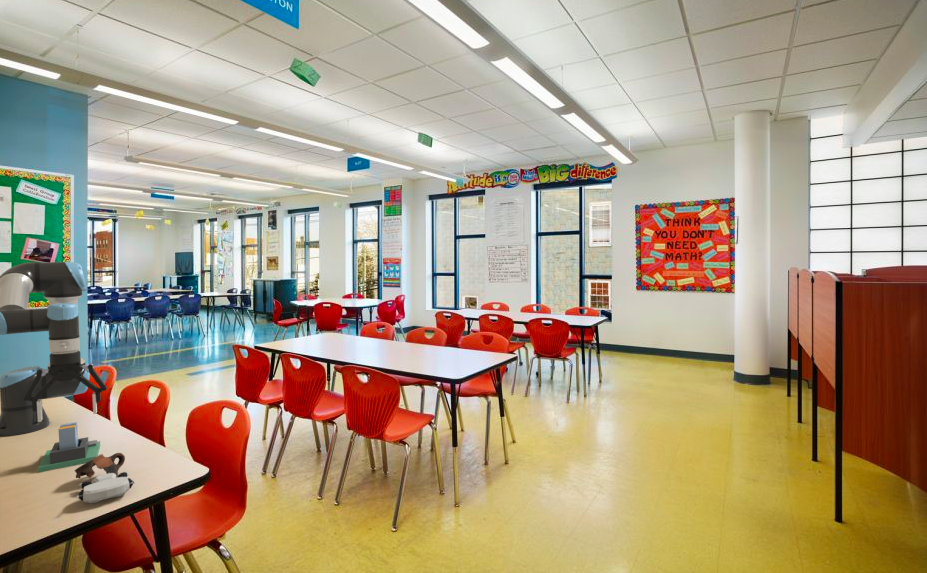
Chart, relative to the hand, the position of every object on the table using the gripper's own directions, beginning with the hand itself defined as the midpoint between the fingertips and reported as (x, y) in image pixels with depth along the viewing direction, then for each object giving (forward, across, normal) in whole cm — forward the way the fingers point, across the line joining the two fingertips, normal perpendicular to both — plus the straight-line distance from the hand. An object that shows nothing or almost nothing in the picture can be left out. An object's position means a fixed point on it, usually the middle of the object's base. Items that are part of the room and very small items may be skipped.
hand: (68, 416), depth 150 cm
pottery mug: (+14, +10, -23) cm, 29 cm away
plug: (+13, 0, 0) cm, 13 cm away
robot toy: (+14, +11, -36) cm, 40 cm away
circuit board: (+14, 0, +2) cm, 14 cm away
